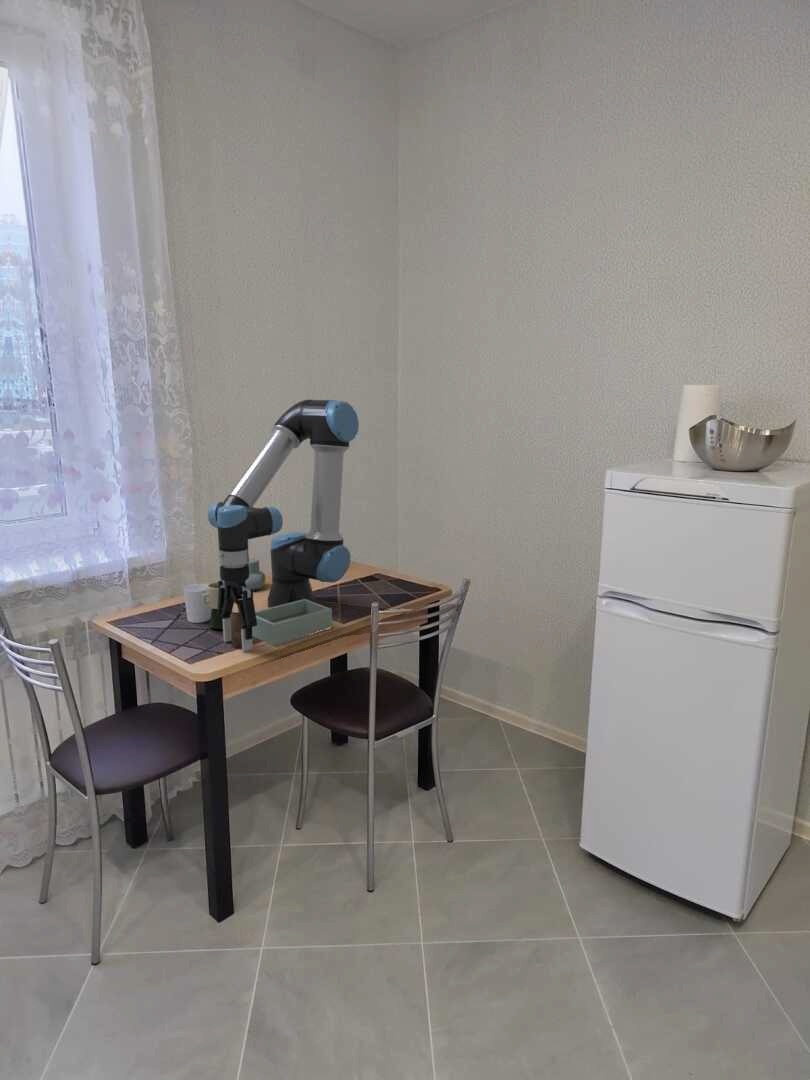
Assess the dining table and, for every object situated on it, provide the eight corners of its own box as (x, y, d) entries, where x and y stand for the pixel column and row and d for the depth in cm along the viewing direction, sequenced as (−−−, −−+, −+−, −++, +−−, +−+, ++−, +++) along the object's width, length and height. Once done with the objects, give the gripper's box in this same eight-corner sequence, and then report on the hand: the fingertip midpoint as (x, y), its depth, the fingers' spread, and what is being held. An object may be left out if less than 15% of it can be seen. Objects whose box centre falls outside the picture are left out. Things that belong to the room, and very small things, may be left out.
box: (273, 645, 192) (273, 625, 191) (248, 633, 202) (247, 613, 200) (332, 628, 206) (331, 608, 205) (305, 617, 215) (305, 598, 214)
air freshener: (243, 583, 251) (242, 556, 248) (266, 584, 250) (265, 556, 248) (235, 592, 240) (233, 564, 238) (259, 593, 240) (258, 564, 237)
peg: (229, 646, 192) (227, 615, 190) (238, 642, 195) (236, 611, 193) (238, 649, 190) (237, 617, 188) (247, 645, 193) (246, 613, 191)
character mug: (232, 620, 212) (230, 578, 210) (244, 626, 207) (242, 583, 204) (198, 628, 205) (195, 585, 202) (210, 635, 200) (207, 591, 197)
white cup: (181, 618, 214) (179, 586, 212) (206, 613, 219) (204, 582, 217) (192, 625, 208) (190, 592, 206) (217, 619, 213) (215, 587, 211)
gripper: (201, 559, 192) (205, 638, 197) (243, 575, 177) (247, 660, 182) (225, 554, 197) (229, 631, 202) (269, 569, 182) (272, 652, 187)
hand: (237, 645), depth 192 cm, fingers open, 9 cm apart
